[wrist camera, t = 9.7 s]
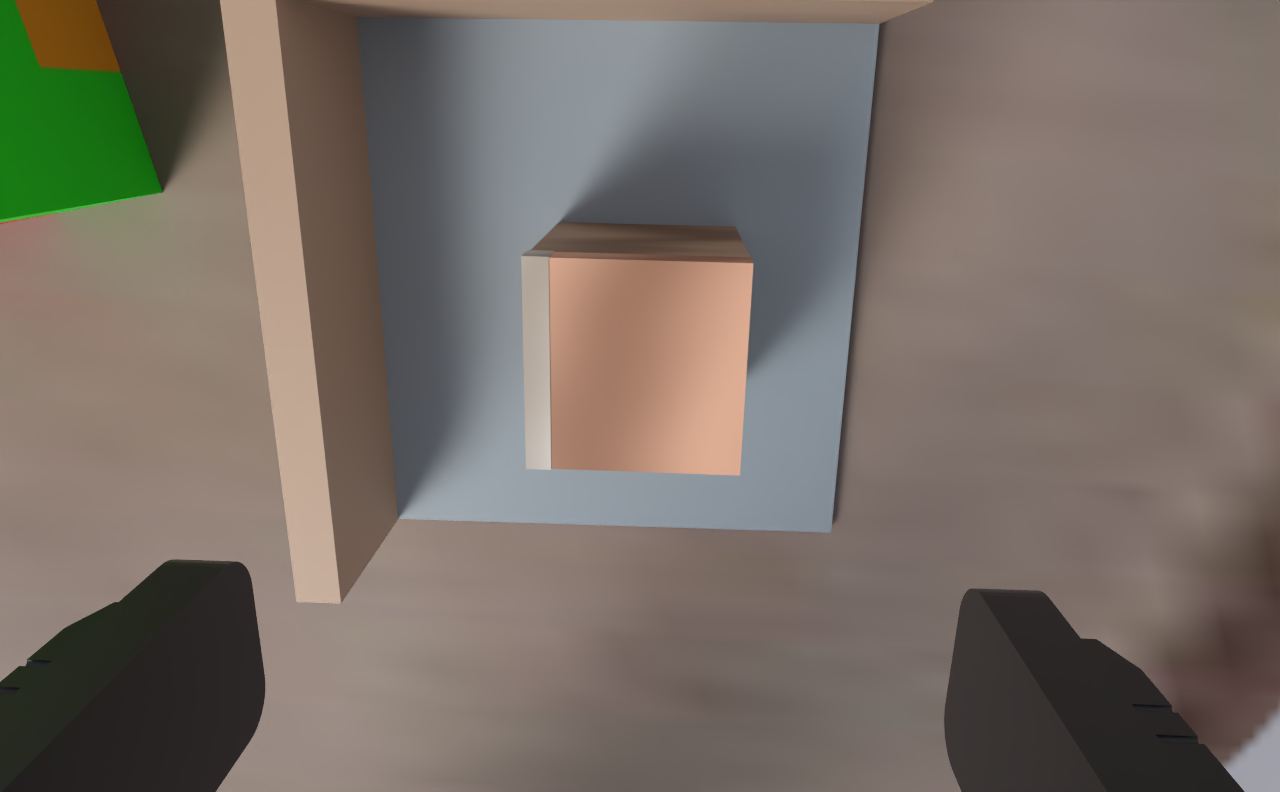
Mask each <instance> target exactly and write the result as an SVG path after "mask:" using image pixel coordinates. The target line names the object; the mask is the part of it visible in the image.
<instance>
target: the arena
mask: <svg viewBox="0 0 1280 792" xmlns="http://www.w3.org/2000/svg"><path fill="white" fill-rule="evenodd" d="M932 2H933V0H220V5H221V13H222V21H223V28H224V36H225V44H226V52H227V60H228V68H229V76H230V83H231V91H232V99H233V107H234V115H235V123H236V130H237V138H238V146H239V154H240V162H241V170H242V178H243V185H244V193H245V201H246V209H247V217H248V225H249V232H250V240H251V248H252V256H253V264H254V272H255V280H256V287H257V295H258V303H259V311H260V319H261V327H262V334H263V342H264V350H265V358H266V366H267V374H268V382H269V389H270V397H271V405H272V413H273V421H274V429H275V437H276V444H277V452H278V460H279V468H280V476H281V484H282V491H283V499H284V507H285V515H286V523H287V531H288V539H289V546H290V554H291V562H292V570H293V578H294V586H295V593H296V601H297V602H313V603H342V601H343V600H344V598H345V597H346V595H347V594H348V592H349V591H350V589H351V588H352V586H353V585H354V584H355V582H356V581H357V579H358V578H359V576H360V575H361V573H362V572H363V570H364V569H365V567H366V566H367V564H368V563H369V561H370V560H371V558H372V557H373V555H374V554H375V552H376V551H377V549H378V548H379V546H380V545H381V543H382V542H383V541H384V539H385V538H386V536H387V535H388V533H389V532H390V530H391V529H392V527H393V526H394V524H395V523H396V521H397V520H398V519H425V520H456V521H487V522H518V523H549V524H581V525H612V526H643V527H674V528H705V529H736V530H767V531H798V532H829V533H831V528H832V518H833V507H834V496H835V486H836V475H837V465H838V454H839V444H840V433H841V423H842V412H843V402H844V391H845V381H846V370H847V360H848V349H849V339H850V328H851V318H852V307H853V297H854V286H855V276H856V265H857V255H858V244H859V234H860V223H861V213H862V202H863V192H864V181H865V171H866V160H867V150H868V139H869V128H870V118H871V107H872V97H873V86H874V76H875V65H876V55H877V44H878V34H879V24H880V23H883V22H885V21H888V20H890V19H893V18H895V17H898V16H900V15H903V14H905V13H908V12H910V11H913V10H915V9H917V8H920V7H922V6H925V5H927V4H930V3H932ZM559 222H579V223H616V224H653V225H690V226H727V227H736V229H737V231H738V233H739V235H740V237H741V239H742V241H743V243H744V245H745V247H746V249H747V251H748V253H749V255H750V257H751V259H752V261H753V279H752V294H751V310H750V326H749V342H748V357H747V373H746V389H745V405H744V420H743V436H742V452H741V468H740V476H737V475H710V474H682V473H654V472H626V471H598V470H571V469H551V470H540V469H526V451H525V406H524V361H523V316H522V271H521V256H522V255H523V254H524V253H525V252H526V251H527V250H531V249H532V248H533V247H534V246H535V245H536V244H537V243H538V242H539V241H540V240H541V239H542V238H543V237H544V236H545V235H546V234H547V233H548V232H549V231H550V230H551V229H552V228H553V227H554V226H555V225H556V224H557V223H559Z"/></svg>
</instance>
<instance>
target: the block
mask: <svg viewBox="0 0 1280 792" xmlns="http://www.w3.org/2000/svg"><path fill="white" fill-rule="evenodd" d="M521 271H522V316H523V361H524V406H525V451H526V469H540V470H551V469H571V470H598V471H626V472H654V473H682V474H710V475H737V476H740V468H741V452H742V436H743V420H744V405H745V389H746V373H747V357H748V342H749V326H750V310H751V294H752V279H753V261H752V259H751V257H750V255H749V253H748V251H747V249H746V247H745V245H744V243H743V241H742V239H741V237H740V235H739V233H738V231H737V229H736V227H727V226H690V225H653V224H616V223H579V222H559V223H557V224H556V225H555V226H554V227H553V228H552V229H551V230H550V231H549V232H548V233H547V234H546V235H545V236H544V237H543V238H542V239H541V240H540V241H539V242H538V243H537V244H536V245H535V246H534V247H533V248H532V249H531V250H527V251H526V252H525V253H524V254H523V255H522V256H521Z"/></svg>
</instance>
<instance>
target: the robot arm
mask: <svg viewBox="0 0 1280 792" xmlns="http://www.w3.org/2000/svg"><path fill="white" fill-rule="evenodd" d="M264 698H265V675H264V668H263V661H262V653H261V646H260V639H259V632H258V624H257V617H256V610H255V602H254V595H253V588H252V582H251V577H250V574H249V572H248V570H247V568H246V567H245V566H244V565H243V564H242V563H240V562H232V561H203V560H169V561H167V562H165V563H163V564H162V565H161V566H160V567H158V568H157V569H156V570H155V571H154V572H153V573H152V574H150V575H149V576H148V577H147V578H146V579H145V580H144V581H142V582H141V583H140V584H139V585H138V586H137V587H136V588H134V589H133V590H132V591H131V592H130V593H129V594H128V595H126V596H125V597H124V598H123V599H122V600H121V601H120V602H114V603H112V604H110V605H108V606H106V607H104V608H103V609H101V610H99V611H97V612H95V613H93V614H91V615H89V616H87V617H85V618H83V619H81V620H79V621H77V622H75V623H73V624H72V625H70V626H68V627H66V628H64V629H63V630H62V631H61V632H59V633H58V634H57V635H56V636H55V637H53V638H52V639H51V640H50V641H49V642H47V643H46V644H45V645H44V646H43V647H41V648H40V649H39V650H38V651H37V652H36V653H34V654H33V655H32V656H31V657H30V658H28V659H27V664H26V666H19V667H18V668H16V669H15V670H14V671H13V672H12V673H11V674H9V675H8V676H7V677H6V678H5V679H3V680H2V681H1V682H0V792H216V790H217V789H218V787H219V786H220V784H221V783H222V781H223V780H224V779H225V777H226V776H227V774H228V773H229V771H230V770H231V768H232V767H233V765H234V764H235V762H236V761H237V759H238V758H239V756H240V755H241V753H242V752H243V750H244V749H245V748H246V746H247V745H248V743H249V742H250V740H251V738H252V737H253V735H254V733H255V731H256V729H257V726H258V723H259V721H260V717H261V714H262V709H263V704H264ZM944 726H945V739H946V746H947V752H948V756H949V760H950V764H951V767H952V770H953V772H954V775H955V777H956V779H957V782H958V784H959V786H960V789H961V791H962V792H1244V791H1243V789H1242V788H1241V787H1240V786H1239V785H1238V784H1237V782H1236V781H1235V780H1234V779H1233V778H1232V776H1231V775H1230V774H1229V773H1228V772H1227V770H1226V769H1225V768H1224V767H1223V766H1222V765H1221V763H1220V762H1219V761H1218V760H1217V759H1216V757H1215V756H1214V755H1213V754H1212V753H1211V752H1210V750H1209V749H1208V748H1207V747H1206V746H1205V744H1199V743H1198V740H1197V737H1198V736H1197V735H1196V734H1195V733H1194V731H1193V730H1192V729H1191V728H1190V727H1189V725H1188V724H1187V723H1186V722H1185V721H1184V720H1183V718H1182V717H1181V716H1180V715H1179V714H1178V713H1173V712H1172V705H1171V704H1170V703H1169V702H1168V701H1167V699H1166V698H1165V697H1164V696H1163V695H1162V694H1161V692H1160V691H1159V690H1158V689H1157V688H1156V686H1155V685H1154V684H1153V683H1152V682H1151V681H1150V679H1149V678H1148V677H1147V676H1146V675H1145V673H1144V672H1143V671H1142V670H1141V669H1139V668H1138V667H1137V666H1135V665H1134V664H1132V663H1131V662H1129V661H1128V660H1126V659H1125V658H1123V657H1122V656H1120V655H1119V654H1117V653H1116V652H1114V651H1113V650H1111V649H1110V648H1108V647H1107V646H1106V645H1104V644H1103V643H1101V642H1100V641H1098V640H1097V639H1081V638H1080V637H1079V636H1078V635H1077V633H1076V632H1075V631H1074V629H1073V628H1072V627H1071V626H1070V624H1069V623H1068V622H1067V620H1066V619H1065V618H1064V617H1063V615H1062V614H1061V613H1060V611H1059V610H1058V609H1057V608H1056V606H1055V605H1054V604H1053V602H1052V601H1051V600H1050V599H1049V597H1048V596H1047V595H1046V594H1045V593H1043V592H1041V591H1030V590H1001V589H969V590H968V591H967V592H966V593H965V595H964V597H963V599H962V602H961V606H960V611H959V618H958V624H957V631H956V638H955V644H954V651H953V658H952V664H951V671H950V678H949V684H948V691H947V698H946V704H945V717H944Z"/></svg>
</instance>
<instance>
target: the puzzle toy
mask: <svg viewBox="0 0 1280 792" xmlns="http://www.w3.org/2000/svg"><path fill="white" fill-rule="evenodd" d="M162 192H163V191H162V189H161V186H160V183H159V180H158V177H157V174H156V171H155V168H154V166H153V163H152V160H151V157H150V154H149V151H148V148H147V145H146V143H145V140H144V137H143V134H142V131H141V128H140V125H139V122H138V119H137V117H136V114H135V111H134V108H133V105H132V102H131V99H130V96H129V94H128V91H127V88H126V85H125V82H124V79H123V76H122V73H121V71H120V68H119V65H118V62H117V59H116V56H115V53H114V50H113V47H112V45H111V42H110V39H109V36H108V33H107V30H106V27H105V24H104V22H103V19H102V16H101V13H100V10H99V7H98V4H97V1H96V0H0V224H3V223H8V222H13V221H19V220H24V219H29V218H34V217H39V216H44V215H49V214H54V213H60V212H65V211H70V210H75V209H80V208H85V207H90V206H95V205H100V204H106V203H111V202H116V201H121V200H126V199H131V198H136V197H141V196H147V195H152V194H157V193H162Z"/></svg>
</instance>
